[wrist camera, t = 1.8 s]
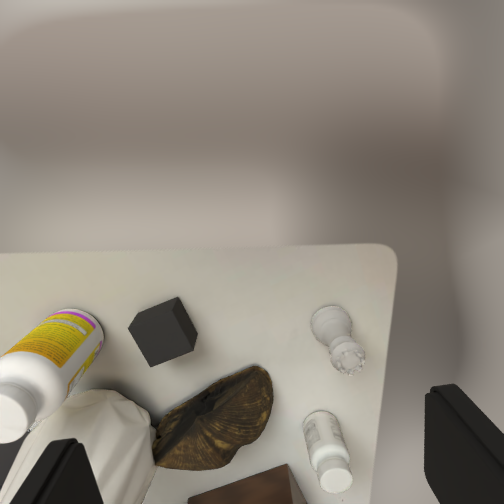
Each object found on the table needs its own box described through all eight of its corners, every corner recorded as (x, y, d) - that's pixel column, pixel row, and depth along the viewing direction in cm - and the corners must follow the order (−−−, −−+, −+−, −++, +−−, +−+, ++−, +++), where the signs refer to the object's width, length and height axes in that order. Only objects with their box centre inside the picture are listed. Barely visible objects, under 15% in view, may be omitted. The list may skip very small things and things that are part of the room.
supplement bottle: (37, 310, 37) (-65, 387, 25) (96, 302, 37) (24, 375, 25) (55, 363, 39) (-31, 459, 27) (112, 355, 39) (51, 448, 27)
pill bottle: (303, 440, 43) (316, 500, 36) (301, 411, 42) (314, 467, 34) (338, 437, 43) (358, 496, 36) (337, 408, 42) (357, 462, 34)
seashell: (246, 347, 39) (258, 397, 32) (286, 388, 43) (303, 440, 37) (134, 421, 41) (125, 481, 34) (183, 453, 45) (183, 512, 38)
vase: (174, 467, 43) (139, 625, 29) (64, 478, 43) (-26, 641, 29) (154, 372, 40) (103, 498, 25) (34, 385, 40) (-88, 518, 25)
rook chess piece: (351, 305, 38) (379, 343, 30) (345, 340, 39) (370, 385, 32) (312, 302, 38) (330, 340, 30) (307, 338, 39) (323, 383, 31)
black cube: (178, 296, 37) (172, 310, 34) (197, 333, 39) (193, 350, 35) (137, 312, 38) (127, 328, 34) (158, 349, 39) (150, 367, 36)
